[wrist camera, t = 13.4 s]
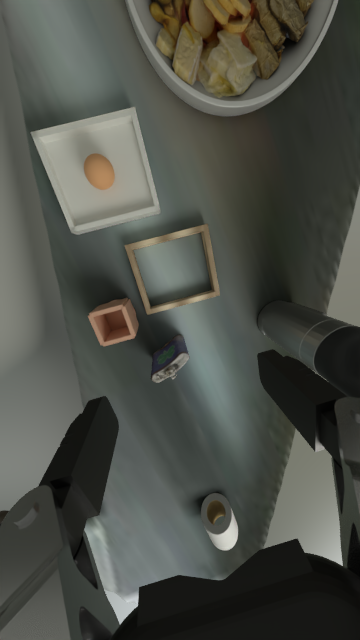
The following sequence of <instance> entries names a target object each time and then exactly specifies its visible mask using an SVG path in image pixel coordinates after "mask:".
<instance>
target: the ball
mask: <svg viewBox="0 0 360 640" xmlns="http://www.w3.org/2000/svg"><path fill="white" fill-rule="evenodd" d="M84 173H85V176H86V178H87V180H88V181H89V182H90V184H91V185H93V186H94V187H95V188H97V189H100V190H105V189H108V188H110V187H111V186H112V184H113V182H114V179H115V173H114V169H113V166H112V164H111V163H110V161H109V160H108V159H107V158H106V157H104V156H103V155H101V154H97V153H94V154H90V155H89V156H88V157H87V158H86V159H85V162H84Z"/></svg>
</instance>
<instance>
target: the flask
mask: <svg viewBox="0 0 360 640" xmlns="http://www.w3.org/2000/svg"><path fill="white" fill-rule="evenodd" d="M188 360H189V354H188V351H187V347H186V344H185V341H184V337H183V336H181V335H177V336H175V337H174V338H173V339H172V340H171V341H170V342H168V343H166V344H165V346H164V347H163V348H162V347H161V349H160V350H158V351H157V352H155V353H154V354H153V362H152V372H151V380H152V381H153V382H156V383H158V382H161V381H163V380H165V379H167V378H168V377H171V376H174V375H175V373H176V372H177V371H178V370H179V369H180V368H181V367H182V366H183V365H184V364H185V363H186V362H187V361H188ZM176 376H177V374H176ZM176 376H174V377H171V378H172V379H174V378H176Z"/></svg>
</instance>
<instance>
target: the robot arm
mask: <svg viewBox="0 0 360 640" xmlns="http://www.w3.org/2000/svg"><path fill="white" fill-rule="evenodd" d="M258 328H259V329H260V331H261V332H262V333H263V334H264V335H266V336H267V337H268V338H270V339H271V340H272V341H274V342H275V343H277V344H278V345H279V346H281V347H282V348H283V349H285V350H286V351H288V352H289V353H290V354H292V355H293V356H294V357H296V358H297V359H299V360H300V361H301V362H300V361H299V360H296V359H294V358H291V357H289V356H285V357H283V356H282V355H280V354H279V353H278V352H276V351H275V350H273V349H272V350H268V351H265V352H261V353H258V355H257V357H258V366H259V375H260V380H261V383H262V385H263V387H264V389H265V390H266V392H267V393H268V394H269V395H270V396H271V398H272V399H273V400H274V401H275V403H276V404H277V405H278V406H279V408H280V409H281V410H282V411H283V413H284V414H285V415H286V416H287V418H288V419H289V420H290V421H291V422H292V424H293V425H294V426H295V427H296V429H297V430H298V431H299V432H300V434H301V435H302V436H303V437H304V438H305V440H306V441H307V442H308V443H309V445H310V446H311V447H312V448H313V450H314V451H315V452H317V451H320V450H323V449H326V450H327V451H328V452H329V453H330V454H331V456H332V467H333V475H334V482H335V490H336V497H337V504H338V512H339V521H340V538H341V551H342V561H343V566H341V565H339V564H338V563H336V562H334V561H331V560H329V559H327V558H324V557H321V556H318V555H314V554H310V553H304V551H303V549H302V547H301V545H300V543H299V541H298V539H294V540H291V541H287V542H284V543H281V544H278V545H275V546H271V547H268V548H265V549H262V550H259V551H258V552H257V553H255V554H254V555H253V556H252V557H251V558H249V559H248V560H247V561H246V562H245V563H244V564H242V565H241V566H240V567H239V568H238V569H237V570H235V571H234V572H233V573H232V574H231V575H229V576H228V577H227V578H226V579H224V580H211V579H204V578H196V577H189V576H182V575H177V576H174V577H171V578H168V579H164V580H161V581H158V582H155V583H151V584H148V585H145V586H142V587H139V600H138V607H136V608H135V609H134V610H133V611H132V612H131V613H130V614H129V615H128V616H127V617H126V619H125V620H124V621H123V622H122V623H121V625H120V624H119V622H118V619H117V617H116V614H115V612H114V610H113V608H112V606H111V604H110V602H109V601H108V599H107V596H106V594H105V591H104V588H103V585H102V582H101V579H100V576H99V573H98V570H97V566H96V563H95V560H94V557H93V554H92V551H91V547H90V544H89V541H88V538H87V535H86V533H85V531H84V528H85V524H86V520H87V518H91V517H94V516H98V515H99V513H100V509H101V505H102V500H103V496H104V492H105V487H106V483H107V479H108V474H109V470H110V465H111V461H112V457H113V452H114V448H115V444H116V439H117V435H118V430H119V425H118V419H117V417H116V415H115V413H114V411H113V409H112V406H111V404H110V402H109V400H108V398H107V397H106V396H103V397H100V398H96V399H93V400H89V401H88V403H87V405H86V407H85V409H84V411H83V413H82V414H79V416H78V417H77V418H76V419H75V420H74V421H73V423H71V425H70V427H69V429H68V430H67V433H66V434H65V437H64V438H63V440H62V442H61V444H60V447H59V448H58V449H57V451H56V453H55V455H54V457H53V459H52V461H51V463H50V465H49V467H48V469H47V471H46V473H45V474H44V476H43V478H42V480H41V482H40V484H39V486H38V487H36V488H34V489H33V490H31V491H29V492H28V493H27V494H25V495H24V496H23V497H22V498H21V499H20V500H19V501H18V502H17V503H16V504H15V505H14V506H13V507H12V508H11V510H10V511H9V512H8V514H7V515H6V517H5V518H4V520H3V522H2V523H1V524H0V640H360V327H357V326H354V325H352V324H348V323H346V322H343V321H340V320H337V319H334V318H331V317H328V316H327V315H326V314H325V313H323V312H320V311H317V310H314V309H311V308H308V307H305V306H302V305H299V304H296V303H293V302H291V303H288V302H286V301H281V300H277V301H273V302H271V303H269V304H267V305H266V306H265V307H264V308H263V309H262V310H261V312H260V314H259V316H258ZM302 362H303V363H304V364H305V365H304V364H303V363H302ZM306 365H307V366H308V367H310V368H311V369H312V370H314V371H315V372H317V373H318V374H319V375H321V376H322V377H323V378H325V379H326V380H327V381H328V382H327V381H326V380H325V379H323V378H322V377H321V376H319V375H318V374H315V372H314V371H312V370H311V369H310V368H308V367H307V366H306Z"/></svg>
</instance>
